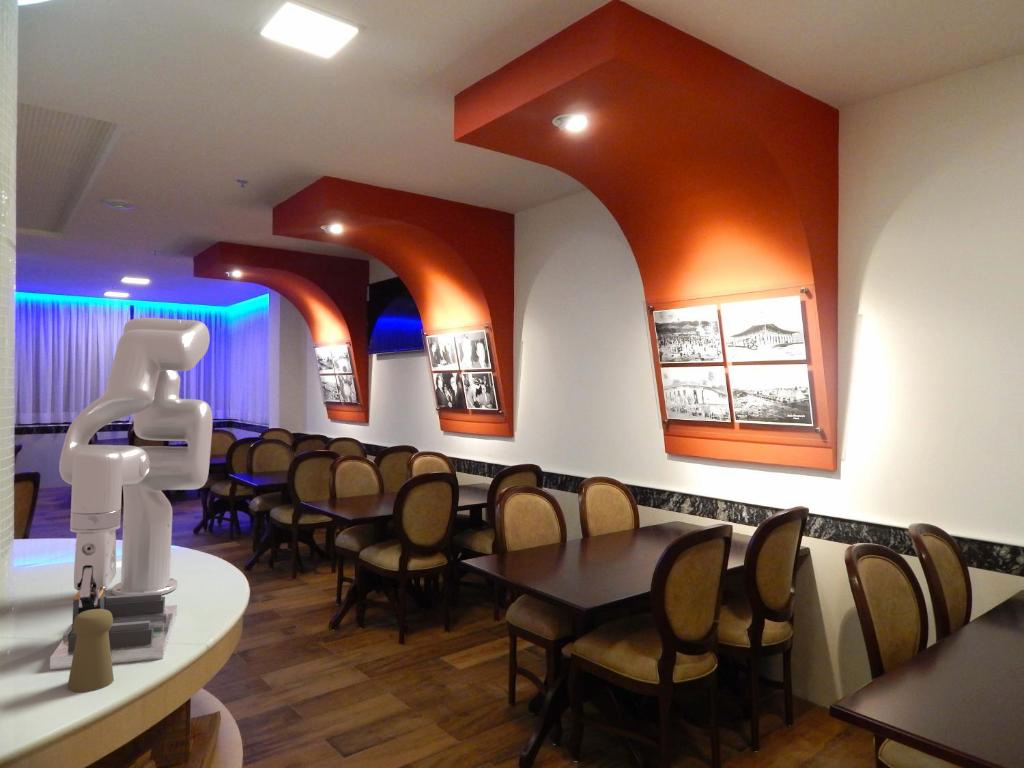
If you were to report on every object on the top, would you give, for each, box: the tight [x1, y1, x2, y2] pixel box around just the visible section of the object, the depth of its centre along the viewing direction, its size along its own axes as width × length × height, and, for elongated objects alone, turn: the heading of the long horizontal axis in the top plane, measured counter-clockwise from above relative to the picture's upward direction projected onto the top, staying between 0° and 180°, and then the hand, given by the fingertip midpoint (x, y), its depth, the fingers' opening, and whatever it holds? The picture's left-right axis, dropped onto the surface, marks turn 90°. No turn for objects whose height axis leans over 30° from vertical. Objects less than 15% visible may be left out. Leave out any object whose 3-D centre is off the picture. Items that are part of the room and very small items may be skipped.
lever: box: [71, 588, 106, 632], centre depth 118 cm, size 4×4×7 cm
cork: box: [67, 609, 115, 693], centre depth 102 cm, size 6×6×11 cm
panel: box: [49, 604, 178, 671], centre depth 119 cm, size 22×16×3 cm
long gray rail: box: [68, 593, 166, 652], centre depth 119 cm, size 18×12×3 cm, turn 21°
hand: (91, 623), depth 118 cm, fingers closed on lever, 4 cm apart
